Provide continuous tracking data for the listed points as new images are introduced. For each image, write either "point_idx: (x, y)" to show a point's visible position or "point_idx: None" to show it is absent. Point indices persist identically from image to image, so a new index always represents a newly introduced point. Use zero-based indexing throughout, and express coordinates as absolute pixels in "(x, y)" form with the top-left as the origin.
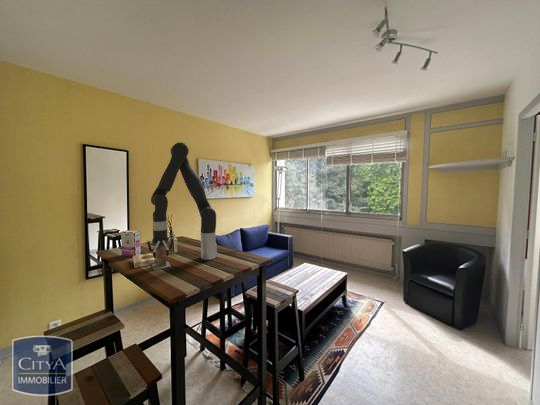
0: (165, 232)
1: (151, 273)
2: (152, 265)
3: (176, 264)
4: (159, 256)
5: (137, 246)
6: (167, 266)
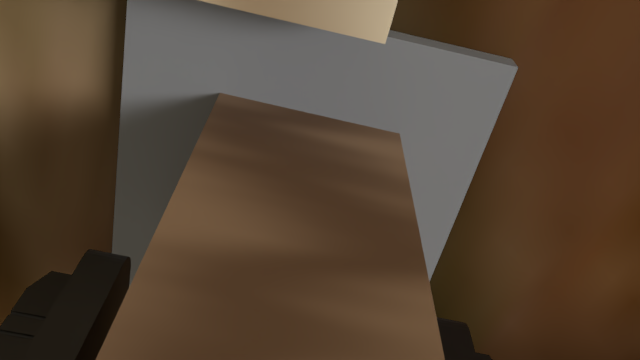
0: None
1: None
2: (129, 81)
3: (536, 289)
4: None
5: None
6: None
